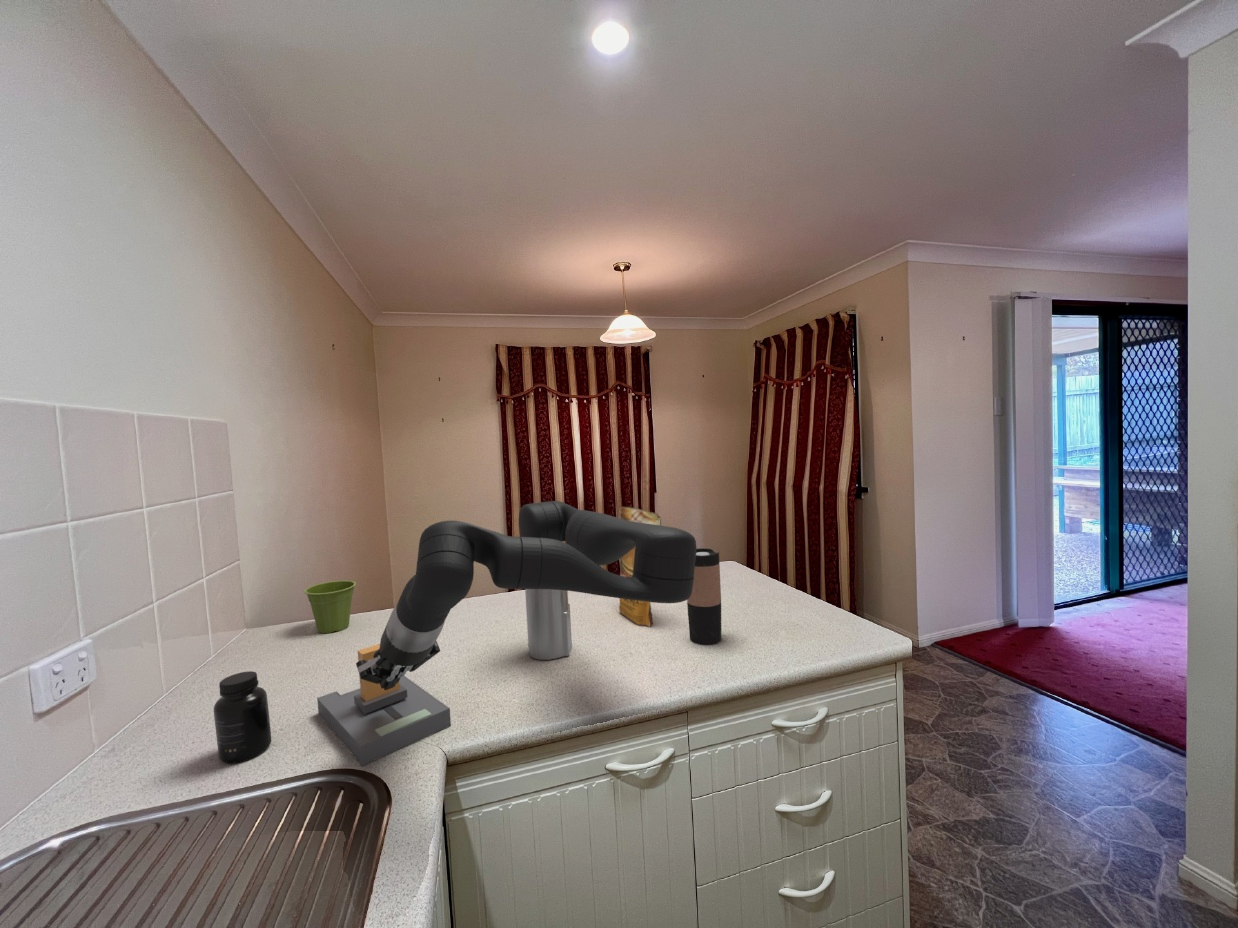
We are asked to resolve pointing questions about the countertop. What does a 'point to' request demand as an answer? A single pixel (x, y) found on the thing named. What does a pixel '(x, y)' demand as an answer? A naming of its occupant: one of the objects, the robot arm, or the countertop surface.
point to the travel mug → (705, 599)
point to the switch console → (383, 721)
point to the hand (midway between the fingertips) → (387, 683)
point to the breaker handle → (375, 688)
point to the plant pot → (331, 604)
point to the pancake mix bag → (632, 608)
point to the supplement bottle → (241, 718)
